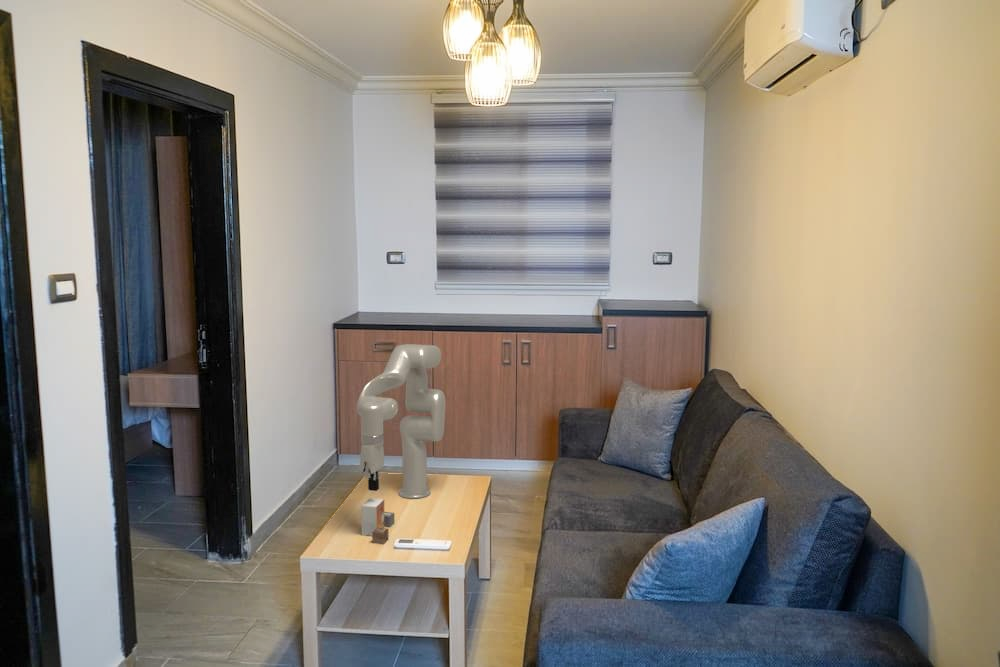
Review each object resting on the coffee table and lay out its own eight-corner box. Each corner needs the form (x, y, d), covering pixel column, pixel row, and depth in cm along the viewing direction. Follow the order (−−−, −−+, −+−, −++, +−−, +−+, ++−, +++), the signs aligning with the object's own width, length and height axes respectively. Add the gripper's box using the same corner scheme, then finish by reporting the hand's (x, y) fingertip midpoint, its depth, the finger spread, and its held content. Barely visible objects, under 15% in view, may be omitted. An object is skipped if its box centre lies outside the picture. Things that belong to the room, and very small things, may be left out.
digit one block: (384, 522, 267) (384, 511, 267) (394, 523, 266) (394, 512, 266) (379, 526, 264) (379, 515, 263) (389, 527, 263) (389, 516, 262)
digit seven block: (377, 538, 253) (377, 526, 252) (388, 540, 252) (388, 528, 251) (372, 543, 249) (372, 531, 249) (383, 544, 248) (383, 532, 248)
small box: (376, 536, 254) (376, 507, 253) (361, 535, 256) (360, 505, 254) (384, 527, 262) (384, 499, 261) (369, 526, 263) (369, 497, 262)
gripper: (371, 431, 263) (373, 481, 266) (352, 444, 249) (353, 496, 252) (391, 433, 261) (392, 483, 264) (372, 446, 247) (374, 498, 250)
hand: (373, 489), depth 258 cm, fingers closed
